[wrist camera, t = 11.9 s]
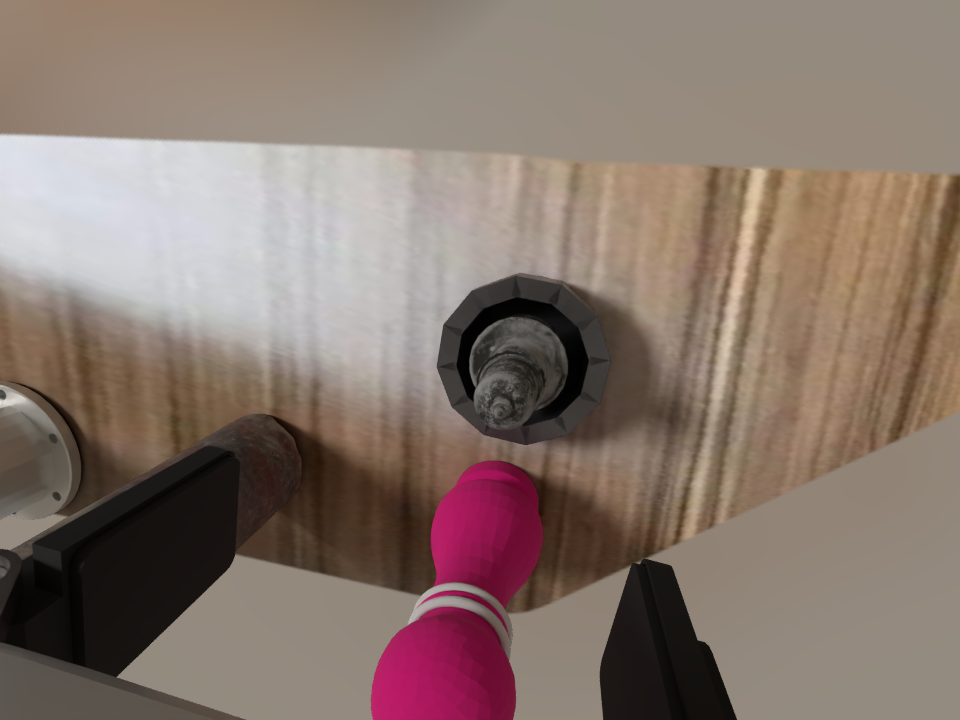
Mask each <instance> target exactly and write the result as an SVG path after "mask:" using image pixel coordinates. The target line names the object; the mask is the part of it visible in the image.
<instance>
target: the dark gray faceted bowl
mask: <svg viewBox="0 0 960 720" xmlns="http://www.w3.org/2000/svg"><path fill="white" fill-rule="evenodd" d="M517 314H529V315H532V316H536V317H539V318H541V319H543V320H544V321H546V322H548V323H549V324H550V325H551V326H552V327H553V328H554V329H555V330H556V332H557V334H558V336H559V337H560V339H561V342H562V344H563V346H564V348H565V351H566V355H567V359H568V375H567V378H566V381H565V384H564V387H563V389H562V390H561V392H560V393H559V395H558V396H557V397H556V398H555V399H554V400H553V401H552V402H551V403H550V404H548V405H547V406H545V407H543V408H541V409H539V410H537V411H533V413H532V415H531V416H530V418H529V419H528V420H527V421H526V422H525V423H523V424H522V425H521V426H519V427H517V428H515V429H510V430H498V429H495V428H492V427H490V426H488V425H486V424H485V423H484V422H483V421H482V420H481V419H480V418H479V416H478V415H477V413H476V410H475V407H474V393H475V390H476V387H475V386H474V384H473V381H472V378H471V374H470V363H469V358H470V355H471V351H472V347H473V345H474V343H475V341H476V340H477V338H478V336H479V335H480V334H481V333H482V332H483V331H484V330H485V329H486V328H487V327H488V326H490V325H492V324H494V323H495V322H497V321H499V320H502V319H505V318H507V317H509V316H513V315H517ZM610 363H611V358H610V355H609V352H608V349H607V345H606V342H605V339H604V336H603V332H602V329H601V326H600V323H599V320H598V316H597V314H596V312H595V310H594V309H593V308H592V307H591V306H590V305H589V304H588V303H586V302H585V301H584V300H583V299H582V298H581V297H580V296H579V295H578V294H577V293H576V292H574V291H573V290H572V289H571V288H570V287H568V286H567V285H566V284H565V283H564V282H563V281H560V280H554V279H550V278H546V277H542V276H535V275H529V274H524V273H518V274H515V275H512V276H509V277H506V278H503V279H500V280H498V281H495V282H492V283H489V284H486V285H484V286H481V287H479V288H477V289H474V290H472V291H471V292H470V294H469V295H468V296H467V297H466V298H465V300H464V301H463V302H462V303H461V304H460V306H459V307H458V308H457V309H456V310H455V312H454V313H453V314H452V315H451V316H450V317H449V319H448V320H447V321H446V322H445V323H444V325H443V331H442V337H441V343H440V350H439V356H438V362H437V369H438V372H439V374H440V377H441V380H442V382H443V385H444V388H445V390H446V393H447V396H448V398H449V401H450V404H451V407H452V408H454V409H455V410H456V411H457V412H458V413H459V414H460V415H462V416H463V417H464V418H465V419H466V420H467V421H468V422H470V423H471V424H472V425H473V426H474V427H475V428H476V429H478V430H479V431H480V432H481V433H482V434H483V435H486V436H490V437H494V438H498V439H502V440H507V441H511V442H515V443H519V444H523V445H529V444H533V443H536V442H540V441H544V440H548V439H552V438H556V437H559V436H563V435H567V434H569V433H570V432H571V431H572V430H573V429H574V428H575V427H576V426H577V425H578V424H579V423H580V422H581V421H582V420H583V419H584V418H585V417H586V416H588V415H589V414H590V413H591V412H592V411H593V410H594V409H595V408H596V407H597V406H598V405H599V404H600V401H601V397H602V393H603V389H604V386H605V382H606V378H607V374H608V370H609V366H610Z"/></svg>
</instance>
